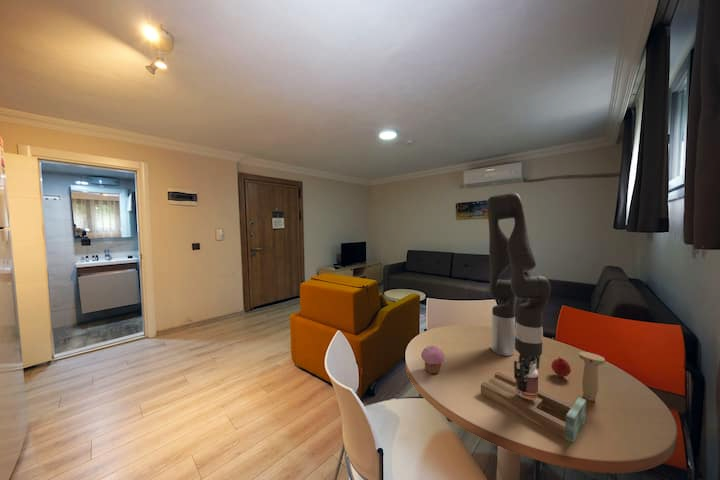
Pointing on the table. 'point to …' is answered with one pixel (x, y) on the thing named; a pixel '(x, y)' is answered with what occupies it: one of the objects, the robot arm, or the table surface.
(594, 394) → the handle
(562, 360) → the onion
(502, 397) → the channel board
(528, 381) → the pill bottle
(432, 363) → the cupcake
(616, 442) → the table surface
